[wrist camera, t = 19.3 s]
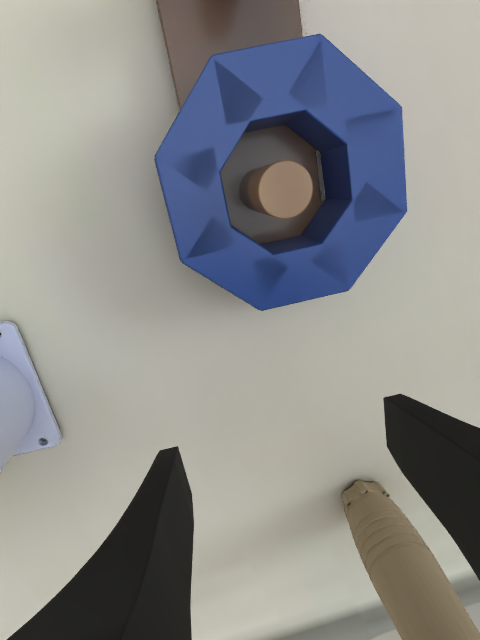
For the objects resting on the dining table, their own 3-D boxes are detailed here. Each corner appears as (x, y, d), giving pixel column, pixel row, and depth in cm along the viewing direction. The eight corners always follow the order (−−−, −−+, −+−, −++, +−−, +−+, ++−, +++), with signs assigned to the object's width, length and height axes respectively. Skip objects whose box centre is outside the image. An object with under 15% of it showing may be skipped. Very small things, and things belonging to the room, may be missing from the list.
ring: (195, 305, 20) (196, 326, 17) (142, 92, 17) (131, 70, 14) (377, 263, 21) (410, 276, 18) (360, 49, 17) (397, 18, 14)
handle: (359, 449, 27) (550, 743, 12) (411, 496, 28) (629, 796, 14) (307, 493, 27) (434, 819, 13) (362, 536, 29) (524, 860, 15)
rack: (210, 257, 21) (220, 288, 15) (135, -94, 16) (98, -290, 10) (316, 235, 21) (372, 255, 15) (274, -116, 16) (331, -320, 10)
